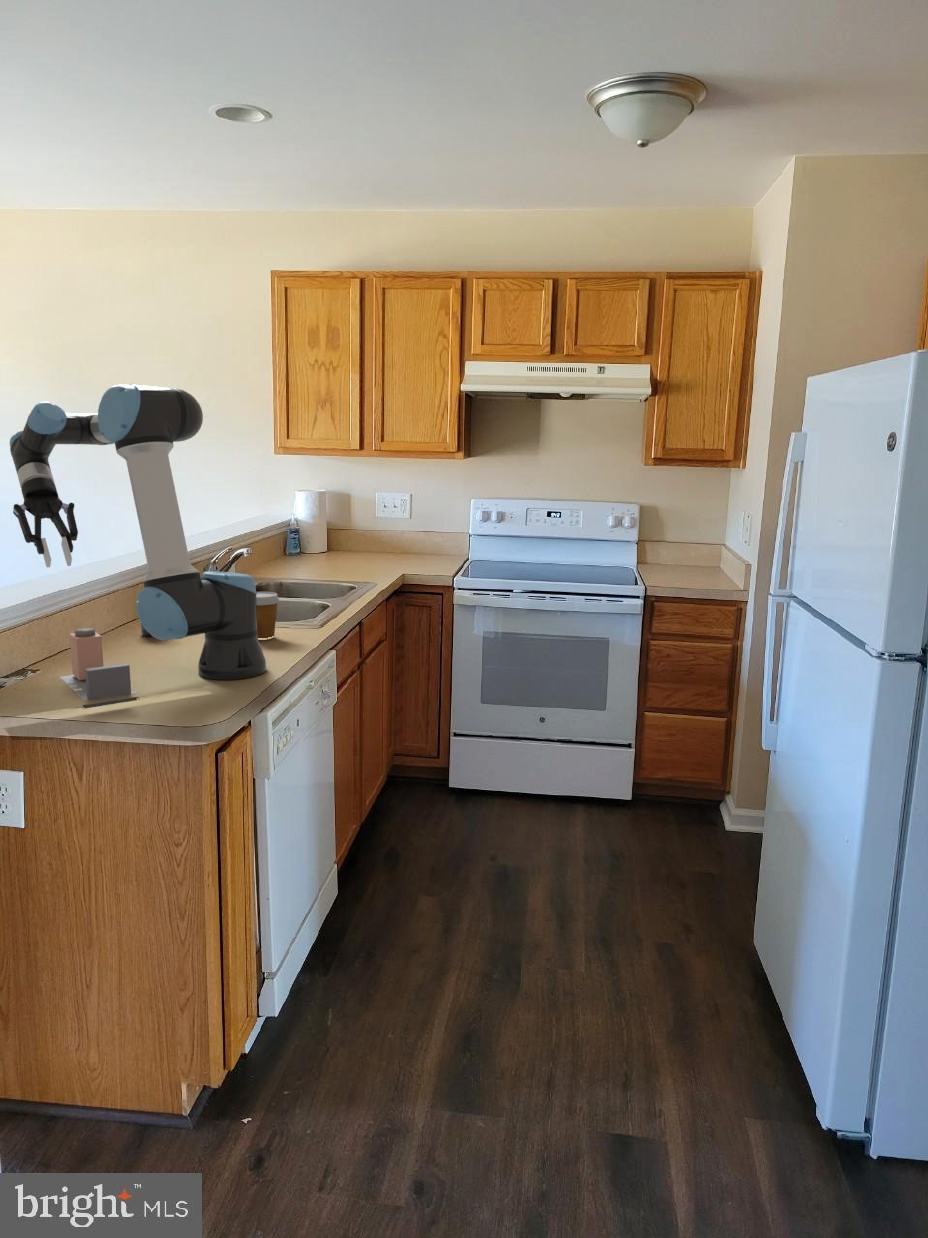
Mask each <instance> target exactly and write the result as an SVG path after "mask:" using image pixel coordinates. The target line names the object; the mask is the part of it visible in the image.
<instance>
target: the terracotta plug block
mask: <svg viewBox="0 0 928 1238" xmlns="http://www.w3.org/2000/svg"><path fill="white" fill-rule="evenodd" d="M102 641H103V640H102V635H101V634H99V633H97V631H96V629H95V628H92V627H91V628H90V627H89V628H88V627H87V628H84V627H83V628H77V629H76V630H74V632H73V633H69V642H70V643H69V644H70V655H71V656H70V657H71V658H70V659H71V669H72V675H74V676H75V677H77V678H78V679H79V680H84V679H86V675H85V669H88V668H95V667H102V666H104V655H103V642H102Z"/></svg>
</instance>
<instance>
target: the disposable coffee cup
mask: <svg viewBox="0 0 928 1238" xmlns="http://www.w3.org/2000/svg"><path fill="white" fill-rule="evenodd" d="M256 592H257V595H256V607H257V638H268V637H272V636H274V637H275V633H276V632H275V631H276V621H277V611H278V603H279V600H280V598H279V597H278V593H277V592H272V591H256Z"/></svg>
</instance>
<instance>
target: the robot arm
mask: <svg viewBox="0 0 928 1238" xmlns="http://www.w3.org/2000/svg"><path fill="white" fill-rule="evenodd" d="M203 420H204V412H203V408H202V407H201V405H200V403H199V402H198V400H197V399H196V398H195V397H194V395H192V394H191V393H189V392H187V391H186V390H183V389H180V388H176V387H163V386H152V385H151V386H150V385H141V384H140V385H139V384H134V383H129V384H117V385H113V386H110V387H109V388H107V390H105V392H104V393H103V395H102V396H101V399H100V402H99V405H98V409H97V412H95V413H94V412H93V413H73V412H65V411H64V409H63V408H62V407H60V405H57V404H52V403H51V402H49V401H42V402H39V403H36V404H35V405H34V407H33V408H32V409H31V411H30V413H29V414H28V416H27V419H26V422H25V424H24V427H23V430H21V431H18V432H16V433H15V434H13V435H12V436H11V437H10V438H9V446H10V448H9V451H10V455H11V457H12V460H13V464H14V468H15V471H16V474H17V478H18V482H19V487H20V488H21V490H20V491H21V494H22V497H23V503H22V504H18V503H14V504H13V508H12V509H13V510H12V513H13V515H14V516H15V517H16V518H17V520H18V522H19V526H20V528H21V532H22V534H23V538H24V540H25V542H26V543H27V544H30V543H33V545H34V547H36V551H37V554H38V555H42V556H43V559H44V563H45V567H46V568H51V565H52V564H51V563H52V558H51V554H50V550H49V547H48V542H47V540H46V537H42V520H43V519H50V521H51V522H52V524H53V525H54V526H55V528H56V529H57V532H58V533H59V536H60V537H61V543H60V544H61V545H60V546H61V548H62V549H61V550H62V552H63V556H64V559H65V562H66V565H67V567H71V566H72V561H73V558H72V554H71V553H73V551H74V545H73V542H76V541H77V540H78V534H79V531H78V530H79V529H78V526H77V522H76V517H75V513H74V510H75V503H74V502H69V504H68V503H64V502H63V501H62V500H61V498H60V497H59V493H58V490H57V486H56V484H55V480H54V476H53V473H52V469H51V466H50V461H49V457H50V456H51V453H52V452H53V449H54V448H55V446H56V445H89V446H90V445H95V446H96V445H97V446H107V445H108V446H109V445H113V444H114V446H115V451H116V454H117V455H118V456H120V458H123V459H124V460H125V462H126V466H127V471H128V476H129V482H130V485H131V486H130V487H131V490H132V491H131V492H132V496H133V500H134V506H135V510H136V515H137V521H138V525H139V530H140V535H141V538H142V539H141V540H142V545H143V548H144V555H145V559H146V562H147V563H146V565H147V568H148V573H147V574H146V575H145V576H144V579H142V580H143V586H144V588H143V589H141V590H140V591H139V592H138V594H137V598H136V599H137V600H136V602H135V603H136V604H135V605H136V606H135V607H136V612H137V617H138V619H139V622H140V621H141V623H142V625H143V627H144V628H145V629H146V631H147V632H149V633H150V634H151V635H152V636H153V637H152V638H154V639H157V640H160V641H170V640H181V639H184V638H187V637H188V638H189V637H192V636H197V635H203V634H204V643H203V646H202V650H201V652H200V657H199V660H198V666H197V668H198V675H199V676H201V677H202V678H207V679H211V680H221V681H222V680H229V681H230V680H241V679H248V678H249V679H250V678H253V677H257V676H261V675H262V674H264V673H265V672H266V671H267V662H266V661H267V660H266V657H265V655H264V652H263V649H262V647H261V644H260V641H258V638H257V607H256V595H257V592H258V591H257V590H256V589H257V588H256V580H255V578H254V577H253V576H252V575H251V574H246V573H238V572H228V571H214V570H213V571H211V570H210V571H204V572H202V575H201V573H200V570H198V569H197V568H195V567H194V566H193V565H192V564H191V562H190V561H191V560H190V556H189V551H188V545H187V541H186V536H185V532H184V527H183V522H182V517H181V511H180V506H179V500H178V497H177V492H176V487H175V482H174V478H173V472H172V468H171V462H170V458H169V454H170V453H171V451H172V450H173V448H174V443H175V442H176V443H178V442H183V441H187V440H190V439H192V438H193V437H195V436H196V434H198V433H199V431H200V429H201V428H202V426H203V422H204V421H203ZM61 509H62V510H63V512H64V513H65V514H66V522H67V525H68V528H67V526H66V524H65V522H64V520H63V519H62V516H61V515H60V511H61ZM26 511H27V513H29V514H30V515H32V516H33V518H34V521H33V522H34V534H33V533H32V529H31V527H30V524H29V521H28V519H27V515H26ZM68 529H69V530H68Z"/></svg>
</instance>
